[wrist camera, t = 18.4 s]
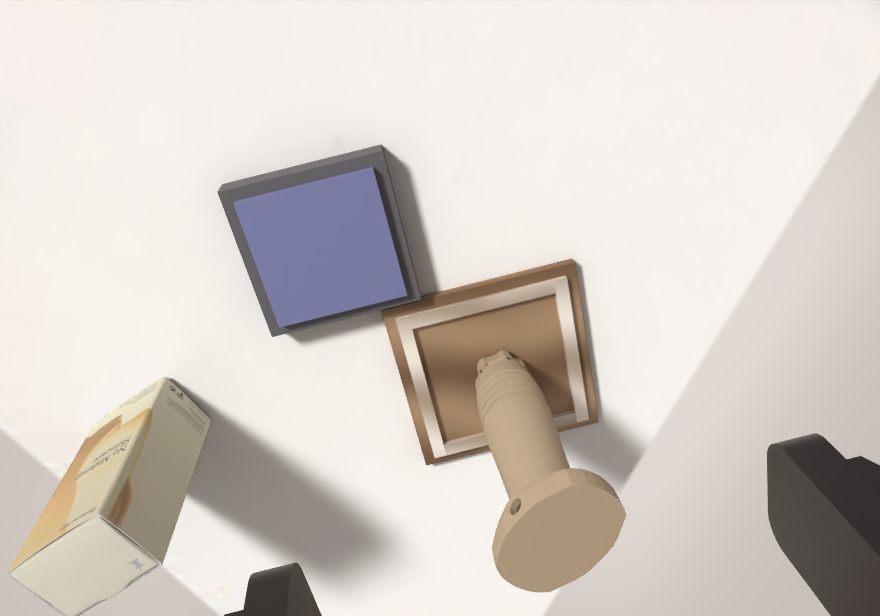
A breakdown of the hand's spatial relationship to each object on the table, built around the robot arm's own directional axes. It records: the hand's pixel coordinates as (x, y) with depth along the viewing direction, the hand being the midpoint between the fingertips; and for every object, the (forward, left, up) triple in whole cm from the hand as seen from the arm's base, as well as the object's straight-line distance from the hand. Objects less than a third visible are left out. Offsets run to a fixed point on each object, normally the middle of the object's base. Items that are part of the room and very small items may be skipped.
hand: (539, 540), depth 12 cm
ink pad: (+4, -6, -30) cm, 31 cm away
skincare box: (+13, -20, -30) cm, 39 cm away
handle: (+15, +2, -30) cm, 33 cm away
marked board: (+15, +2, -30) cm, 34 cm away
